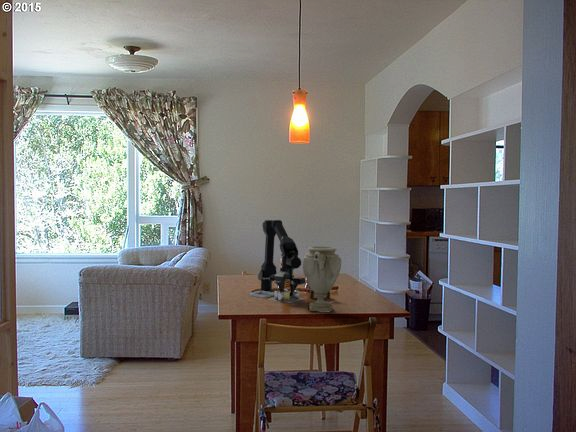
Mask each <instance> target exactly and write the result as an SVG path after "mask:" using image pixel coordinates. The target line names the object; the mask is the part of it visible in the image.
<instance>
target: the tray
mask: <svg viewBox="0 0 576 432" xmlns="http://www.w3.org/2000/svg"><path fill="white" fill-rule="evenodd" d="M274 294H275V292H273V291H272V292H271V291H259V290H258V291H253V292H250V293H249V296H248V297H256V298H260V299H267V298H272V297H274Z"/></svg>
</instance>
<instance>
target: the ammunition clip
mask: <svg viewBox="0 0 576 432" xmlns="http://www.w3.org/2000/svg"><path fill="white" fill-rule="evenodd" d="M315 294H316V293H315V292H314V291H313V290H312V289H311V288H309V299H310V300H311V299H312V300H317V296H316V295H315ZM324 299H331V290H330V291H329V292H328V293H326V295H325V297H324Z"/></svg>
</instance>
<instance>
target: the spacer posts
mask: <svg viewBox="0 0 576 432" xmlns="http://www.w3.org/2000/svg"><path fill="white" fill-rule="evenodd" d="M284 291H289V290H288V289H287V288H284ZM274 293H275V294H274V296H273V298H274V299H275V300H278V301H277V302H280V301H284V293H282V292H280V290H274ZM292 298H294V299H299V298H300V291H299V290H295V291H294V293H293V296H292Z"/></svg>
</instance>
